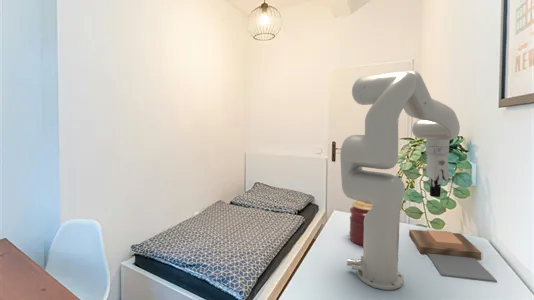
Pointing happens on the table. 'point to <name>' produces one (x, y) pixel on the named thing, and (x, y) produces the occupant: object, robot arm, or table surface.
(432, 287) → the table surface
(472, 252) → the brown wooden board
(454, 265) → the mat
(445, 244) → the tile
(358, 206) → the canister
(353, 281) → the table surface
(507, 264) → the table surface
